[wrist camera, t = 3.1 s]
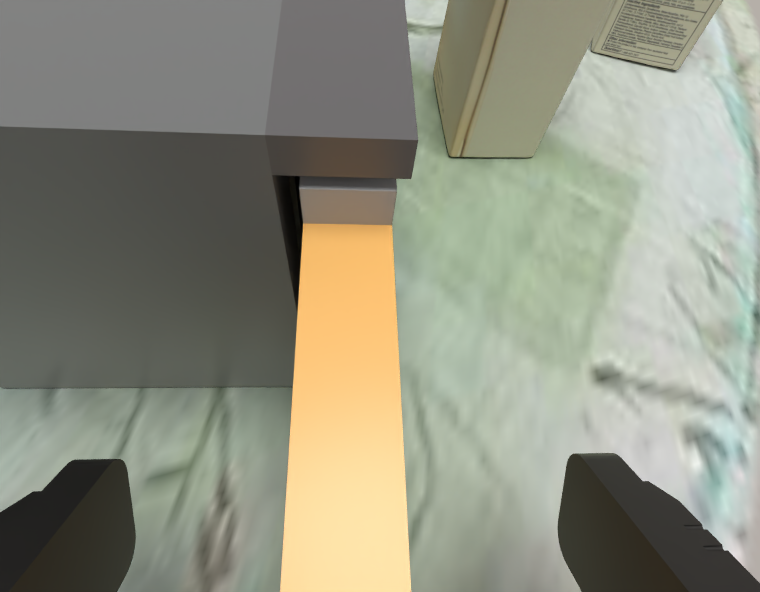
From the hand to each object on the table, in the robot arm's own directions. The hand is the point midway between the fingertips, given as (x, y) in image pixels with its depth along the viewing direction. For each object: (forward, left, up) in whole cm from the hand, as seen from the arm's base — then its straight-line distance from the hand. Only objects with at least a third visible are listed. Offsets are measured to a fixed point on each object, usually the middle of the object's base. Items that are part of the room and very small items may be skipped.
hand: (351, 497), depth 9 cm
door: (0, +6, -5) cm, 8 cm away
